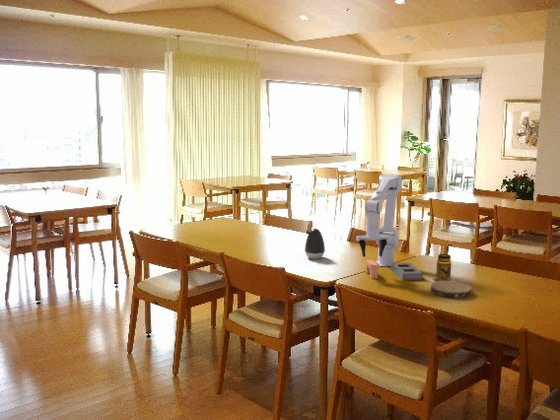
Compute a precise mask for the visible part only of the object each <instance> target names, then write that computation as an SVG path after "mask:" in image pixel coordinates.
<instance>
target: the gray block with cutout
mask: <svg viewBox="0 0 560 420" xmlns="http://www.w3.org/2000/svg"><path fill="white" fill-rule="evenodd" d="M390 270H391V271H392V272H393V273H394V275H396V276H397V277H398V278H399V279H400V280H402V281H416V280H417V281H418V280H419V281H421V280H423V272H422V271H421V270H419V269H418V268H417V267H416V266H414V265H413V264H412V263H411V262H394V263H391V266H390Z"/></svg>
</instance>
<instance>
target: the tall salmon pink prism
mask: <svg viewBox="0 0 560 420" xmlns="http://www.w3.org/2000/svg"><path fill="white" fill-rule="evenodd" d="M378 273H379V264H378V263H377V262H376V261H374V259H366V260H365V274H367V275H368V274H369V278H370V279H379V277H378V276H379V274H378Z"/></svg>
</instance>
